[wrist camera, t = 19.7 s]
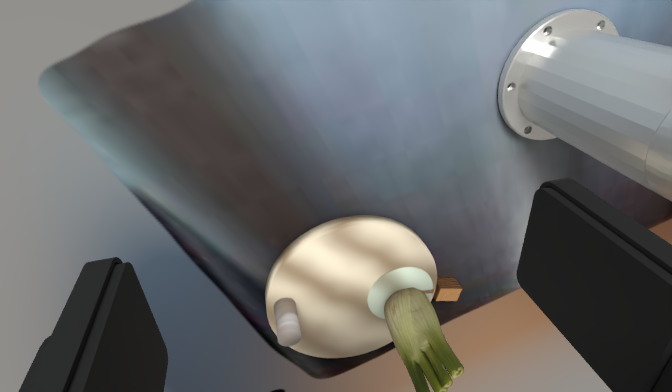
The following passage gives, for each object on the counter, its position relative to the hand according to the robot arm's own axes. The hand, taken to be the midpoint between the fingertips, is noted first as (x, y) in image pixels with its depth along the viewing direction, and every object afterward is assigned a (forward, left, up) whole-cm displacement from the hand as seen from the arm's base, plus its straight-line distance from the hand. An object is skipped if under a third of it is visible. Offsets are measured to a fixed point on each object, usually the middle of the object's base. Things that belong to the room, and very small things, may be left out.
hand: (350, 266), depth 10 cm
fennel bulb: (-11, +29, -26) cm, 41 cm away
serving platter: (-6, +28, -28) cm, 40 cm away
